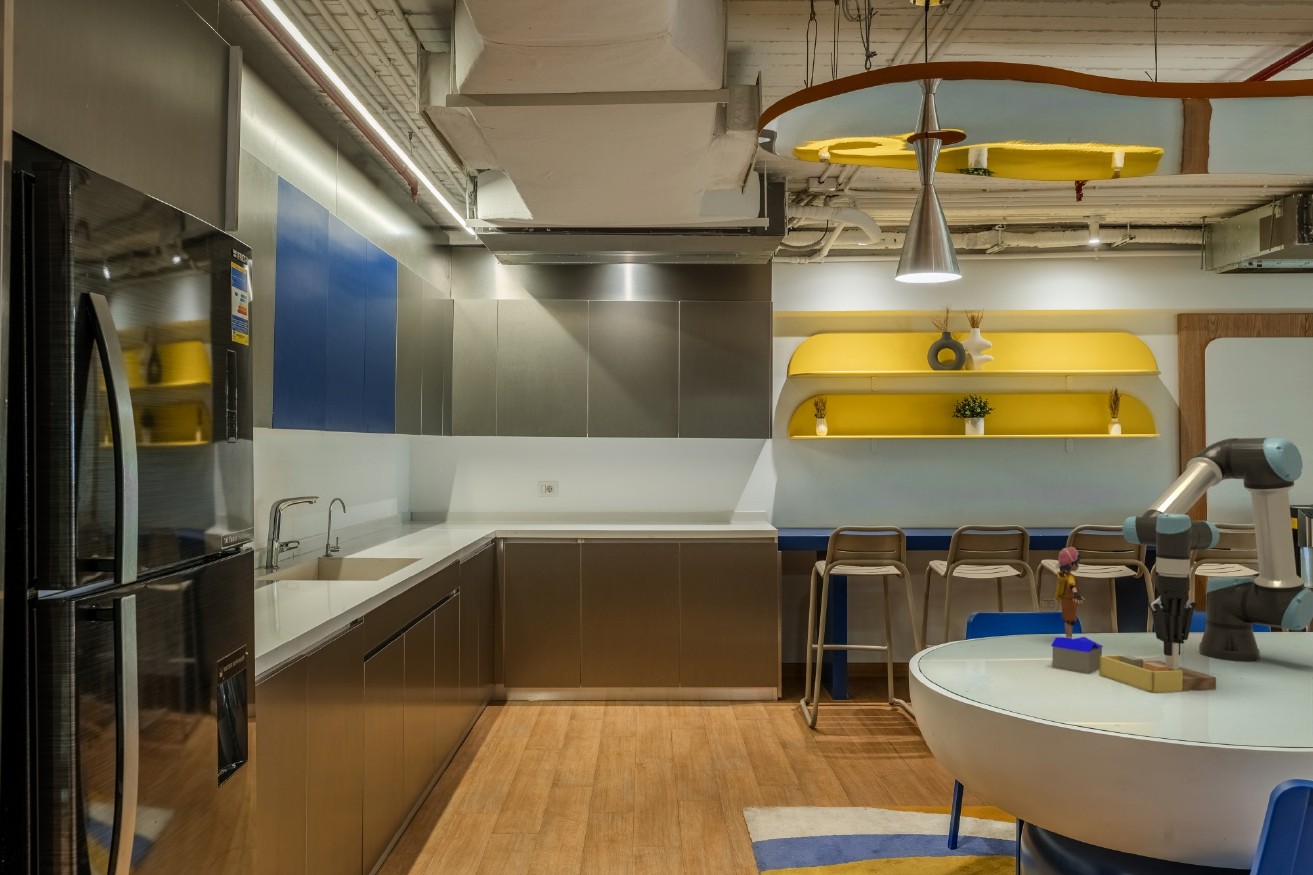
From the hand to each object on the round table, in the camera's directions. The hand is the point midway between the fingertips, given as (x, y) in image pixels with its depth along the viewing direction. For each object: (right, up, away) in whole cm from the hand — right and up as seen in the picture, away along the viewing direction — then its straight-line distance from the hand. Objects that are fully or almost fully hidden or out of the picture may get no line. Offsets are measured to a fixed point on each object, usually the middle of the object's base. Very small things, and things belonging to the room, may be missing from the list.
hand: (1171, 668), depth 228 cm
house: (-16, -5, +18) cm, 24 cm away
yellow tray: (-7, -4, +2) cm, 8 cm away
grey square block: (-5, -1, +7) cm, 9 cm away
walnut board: (+2, -5, +5) cm, 7 cm away
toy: (-4, -5, +50) cm, 50 cm away
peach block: (-3, -1, -1) cm, 4 cm away
